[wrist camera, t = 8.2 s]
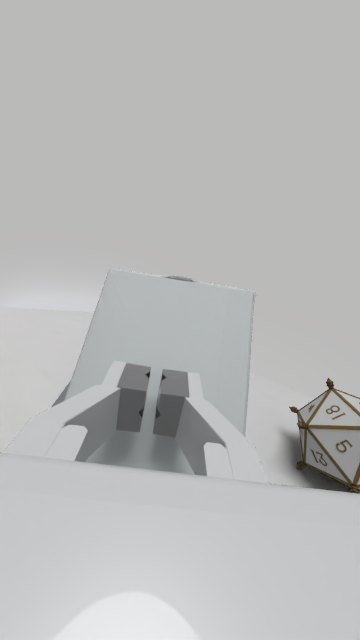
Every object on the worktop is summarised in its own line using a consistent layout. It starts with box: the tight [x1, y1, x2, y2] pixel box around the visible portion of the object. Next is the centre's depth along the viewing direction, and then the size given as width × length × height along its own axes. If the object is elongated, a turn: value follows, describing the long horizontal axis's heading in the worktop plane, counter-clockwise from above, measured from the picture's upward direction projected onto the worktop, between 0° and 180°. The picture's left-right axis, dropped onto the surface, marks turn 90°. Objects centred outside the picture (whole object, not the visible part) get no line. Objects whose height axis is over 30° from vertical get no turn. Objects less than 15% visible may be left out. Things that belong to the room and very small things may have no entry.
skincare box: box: [64, 269, 256, 475], centre depth 12 cm, size 8×6×15 cm
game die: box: [289, 378, 360, 494], centre depth 18 cm, size 9×8×10 cm
